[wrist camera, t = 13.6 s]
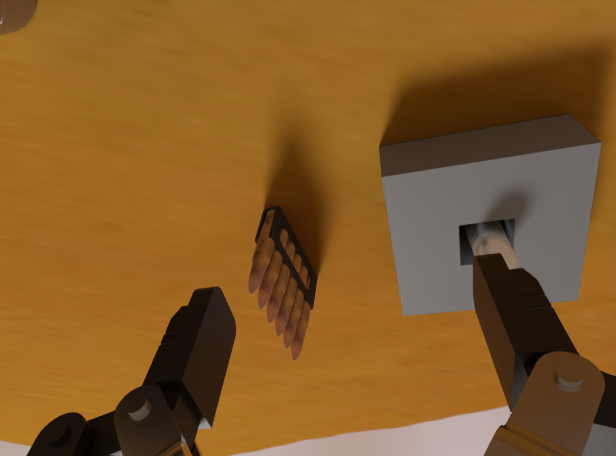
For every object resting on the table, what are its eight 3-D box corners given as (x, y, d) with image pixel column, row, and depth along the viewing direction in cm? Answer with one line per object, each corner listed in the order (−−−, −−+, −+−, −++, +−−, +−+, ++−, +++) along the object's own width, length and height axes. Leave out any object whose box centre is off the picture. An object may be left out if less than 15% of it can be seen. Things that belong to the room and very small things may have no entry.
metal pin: (458, 220, 43) (481, 288, 35) (457, 195, 42) (481, 259, 33) (490, 216, 42) (521, 284, 34) (489, 190, 41) (522, 255, 33)
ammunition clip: (317, 279, 50) (307, 364, 40) (303, 283, 50) (289, 368, 40) (278, 205, 44) (255, 283, 34) (263, 210, 45) (235, 288, 35)
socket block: (398, 276, 48) (403, 315, 43) (379, 146, 39) (381, 177, 35) (553, 259, 45) (577, 300, 40) (568, 113, 36) (601, 142, 31)
